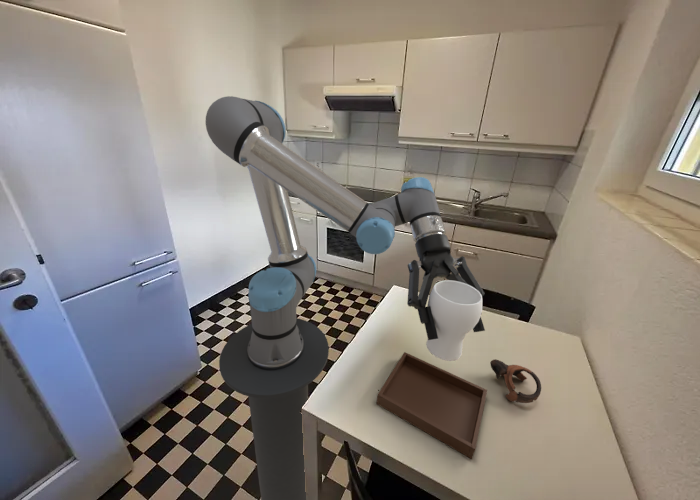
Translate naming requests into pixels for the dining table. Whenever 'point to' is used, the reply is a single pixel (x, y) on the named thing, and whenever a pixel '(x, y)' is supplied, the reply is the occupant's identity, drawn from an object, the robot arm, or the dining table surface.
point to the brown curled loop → (507, 372)
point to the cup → (452, 317)
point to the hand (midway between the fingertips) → (456, 335)
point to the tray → (435, 402)
